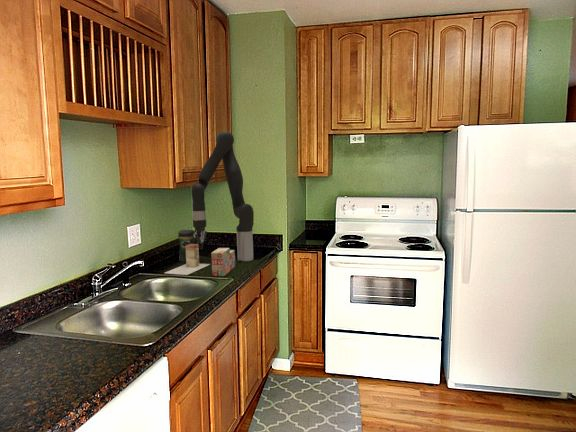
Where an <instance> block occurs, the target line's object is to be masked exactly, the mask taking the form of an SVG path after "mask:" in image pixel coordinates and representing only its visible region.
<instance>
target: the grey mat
mask: <svg viewBox="0 0 576 432" xmlns="http://www.w3.org/2000/svg"><path fill="white" fill-rule="evenodd" d="M210 265H211V263H200V262H199V266H197V267H195V268H192V267H187V266H186V263H185V264H182V265H180V266H177V267H175V268H173V269H171V270H168V271H166V272H164V274H170V275H183V276H188V275H190V274H193V273H195V272H196V271H199V270H201V269H203V268H206V267H208V266H210Z"/></svg>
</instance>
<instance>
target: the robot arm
mask: <svg viewBox="0 0 576 432" xmlns="http://www.w3.org/2000/svg"><path fill="white" fill-rule="evenodd" d="M215 141H216V144H215V147H214V149H213V151H212V153H211V154H210V156H209V157H208V159H206V162H205V163H204V164H203V167H202V168H201V170H200V172H199V173H198V177H199V183H197V184H194V183H193V185H192V186H191V199H192V227H193V228H194V232H195V234H193V235H192V236H193V238H194V243H196V244H198V248H199V250H203V249H204V242H205V241H206V238H207V234H208V231H206V229H205V228H206V227H207V213H206V201H205V191H206V189H207V187H208V185H209V183H210V182H211V180H212V178H213V177H214V174H215V173H216V171H217V168H218V167H219V165H220V163H221V162H222V165H223V170H224V175H225V178H226V183H227V185H228V191H229V194H230V198H231V205H232V210H233V214H234V216H235V217H236V218H237V219H239V220H238V225H236V249H237V250H236V251H237V261H241V262H250V261H253V260H254V239H253V237H254V236H253V235H254V234H253V227H254V224H255V223H254V219H255V217H254V216H255V213H254V208H253V207H252V206H253V205H251V204H249V203H246V202H245V198H244V195H243V194H244V193H243V190H244V189H243V187H244V178H243V174H242V170H241V167H240V164H239V162H238V160H237V157H236V156H235V151H234V146H233V145H234V142H235V137H234V135H233V134H232V133H231V132H229V131H220V132H219V133H218V134H217V136H216V138H215Z"/></svg>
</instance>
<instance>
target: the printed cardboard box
mask: <svg viewBox="0 0 576 432" xmlns="http://www.w3.org/2000/svg"><path fill="white" fill-rule="evenodd" d="M210 257H211V260H210V261H211V276H212V277H225V276H226V275H228V273H230V271H231V270H232V269H234V268H235V267H236V253H235V249H231V248H230V247H218V248H217V249H215V250H214V251H212V252H211V253H210Z"/></svg>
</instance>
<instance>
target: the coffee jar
mask: <svg viewBox="0 0 576 432" xmlns="http://www.w3.org/2000/svg"><path fill="white" fill-rule="evenodd" d="M193 234H195V229H181V230H179V231H178V235H177V238H178V241H179V261H180V262H186V247H185V246H186V245H189V244H196V242H195V240H194V238H193V236H192V235H193Z"/></svg>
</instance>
